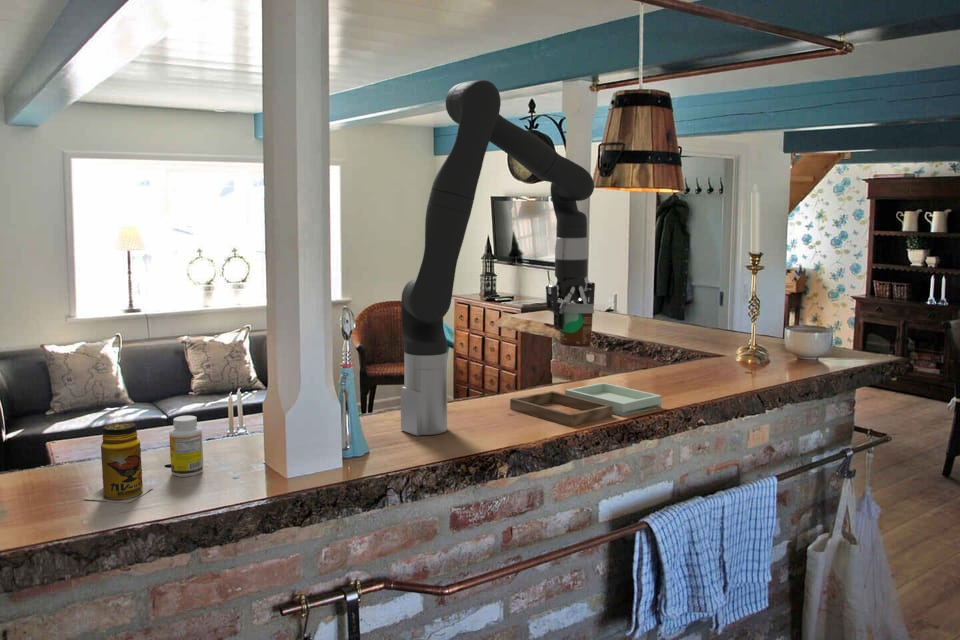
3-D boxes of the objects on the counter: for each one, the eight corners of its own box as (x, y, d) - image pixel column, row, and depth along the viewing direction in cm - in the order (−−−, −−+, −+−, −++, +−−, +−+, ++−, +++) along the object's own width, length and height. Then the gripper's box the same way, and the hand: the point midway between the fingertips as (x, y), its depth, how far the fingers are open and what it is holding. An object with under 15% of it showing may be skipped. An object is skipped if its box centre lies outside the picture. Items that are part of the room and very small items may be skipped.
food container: (546, 340, 200) (546, 299, 199) (569, 339, 202) (569, 298, 201) (569, 349, 188) (569, 305, 187) (593, 347, 191) (594, 304, 189)
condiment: (130, 503, 135) (126, 431, 134) (82, 500, 137) (78, 429, 135) (154, 488, 143) (150, 420, 141) (108, 485, 144) (105, 418, 142)
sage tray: (622, 416, 193) (623, 403, 193) (564, 401, 208) (565, 389, 208) (661, 407, 202) (661, 395, 202) (602, 393, 217) (603, 382, 216)
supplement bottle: (177, 468, 154) (175, 414, 152) (207, 468, 154) (205, 414, 152) (166, 477, 148) (163, 421, 147) (197, 478, 148) (195, 422, 147)
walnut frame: (569, 426, 184) (569, 415, 184) (510, 409, 200) (510, 398, 199) (612, 416, 193) (612, 406, 193) (552, 400, 209) (552, 391, 208)
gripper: (560, 259, 185) (559, 332, 188) (604, 256, 194) (603, 326, 196) (537, 257, 191) (537, 329, 193) (581, 255, 200) (580, 323, 202)
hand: (570, 327), depth 195 cm, fingers closed on food container, 7 cm apart
